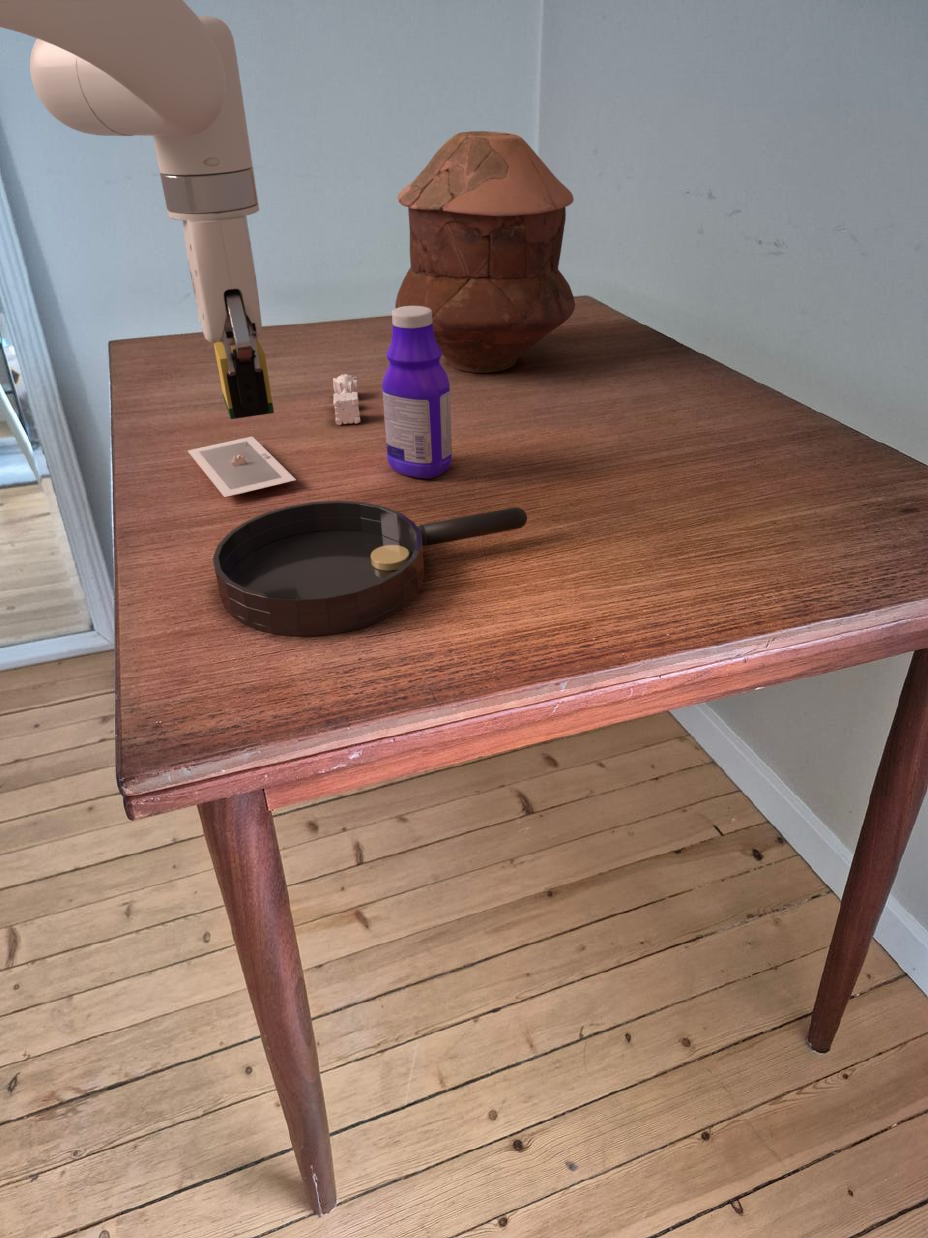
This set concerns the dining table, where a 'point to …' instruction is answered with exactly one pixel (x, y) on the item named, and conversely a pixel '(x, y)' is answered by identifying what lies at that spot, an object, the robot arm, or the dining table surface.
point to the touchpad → (240, 466)
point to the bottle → (416, 397)
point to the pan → (317, 568)
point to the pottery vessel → (487, 249)
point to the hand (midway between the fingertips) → (247, 402)
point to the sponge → (224, 370)
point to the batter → (389, 557)
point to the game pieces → (346, 399)
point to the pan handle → (472, 526)
